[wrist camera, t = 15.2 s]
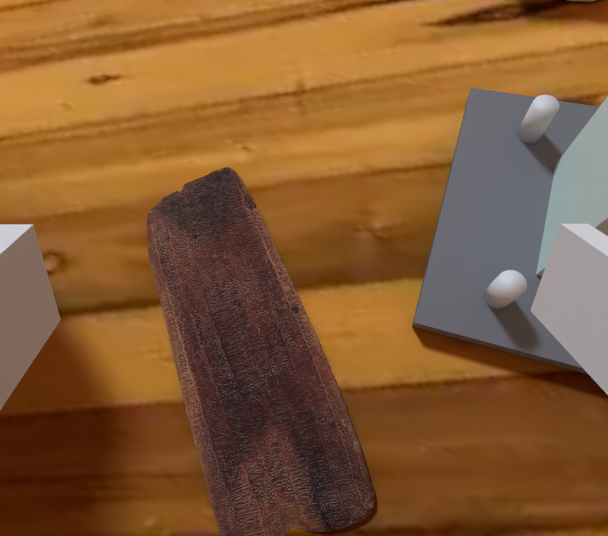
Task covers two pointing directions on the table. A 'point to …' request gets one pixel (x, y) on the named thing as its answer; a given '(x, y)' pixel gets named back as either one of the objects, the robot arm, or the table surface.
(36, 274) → the robot arm
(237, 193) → the wooden tablet
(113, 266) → the table surface
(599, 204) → the mint board
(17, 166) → the table surface
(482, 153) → the peg plinth
